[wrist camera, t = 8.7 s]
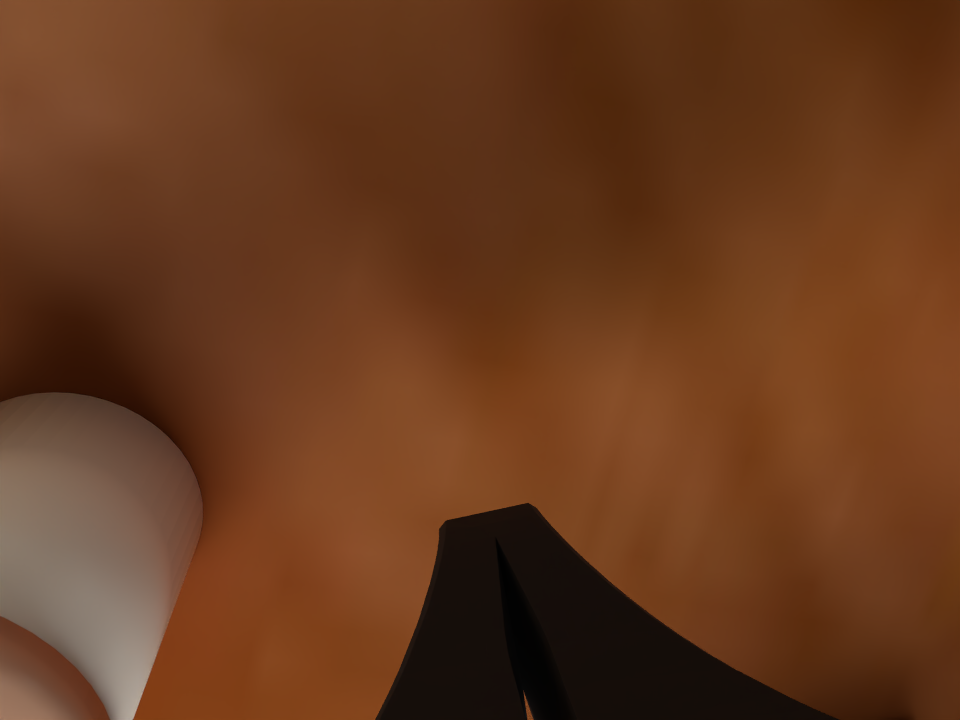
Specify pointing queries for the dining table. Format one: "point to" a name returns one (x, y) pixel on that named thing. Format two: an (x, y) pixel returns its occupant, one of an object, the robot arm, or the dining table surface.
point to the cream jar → (87, 554)
